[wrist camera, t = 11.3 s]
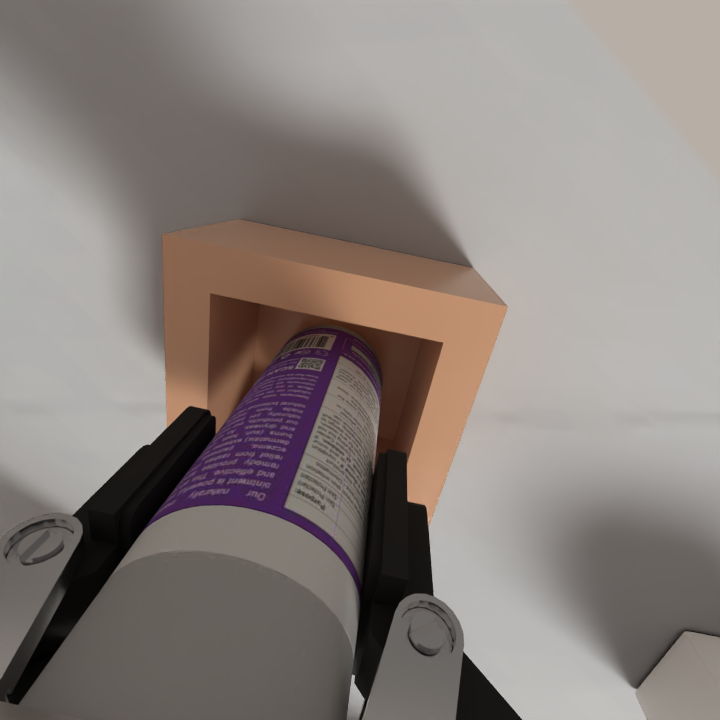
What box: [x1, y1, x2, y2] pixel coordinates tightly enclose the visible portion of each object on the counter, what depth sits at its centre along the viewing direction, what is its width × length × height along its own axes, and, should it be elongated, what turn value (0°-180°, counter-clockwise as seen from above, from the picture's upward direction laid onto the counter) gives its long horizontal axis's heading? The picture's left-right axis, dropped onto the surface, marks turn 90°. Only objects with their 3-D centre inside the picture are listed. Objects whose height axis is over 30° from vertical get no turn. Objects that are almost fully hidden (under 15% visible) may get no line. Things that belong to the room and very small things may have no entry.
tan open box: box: [162, 219, 508, 527], centre depth 16 cm, size 10×10×6 cm
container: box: [18, 324, 383, 720], centre depth 10 cm, size 5×5×15 cm
